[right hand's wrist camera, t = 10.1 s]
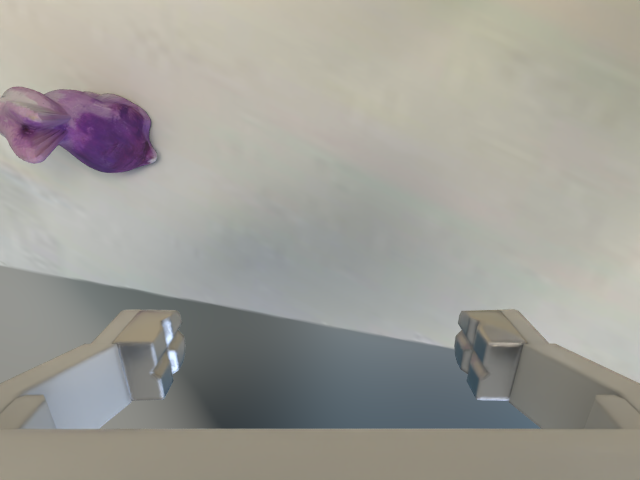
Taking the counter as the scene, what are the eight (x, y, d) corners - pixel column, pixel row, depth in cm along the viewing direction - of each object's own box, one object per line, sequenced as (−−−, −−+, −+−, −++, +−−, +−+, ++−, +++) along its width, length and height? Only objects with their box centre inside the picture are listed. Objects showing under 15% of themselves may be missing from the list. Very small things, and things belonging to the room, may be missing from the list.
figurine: (53, 95, 41) (-85, 94, 27) (138, 77, 40) (42, 66, 26) (88, 176, 44) (-19, 212, 30) (166, 160, 44) (95, 190, 30)
